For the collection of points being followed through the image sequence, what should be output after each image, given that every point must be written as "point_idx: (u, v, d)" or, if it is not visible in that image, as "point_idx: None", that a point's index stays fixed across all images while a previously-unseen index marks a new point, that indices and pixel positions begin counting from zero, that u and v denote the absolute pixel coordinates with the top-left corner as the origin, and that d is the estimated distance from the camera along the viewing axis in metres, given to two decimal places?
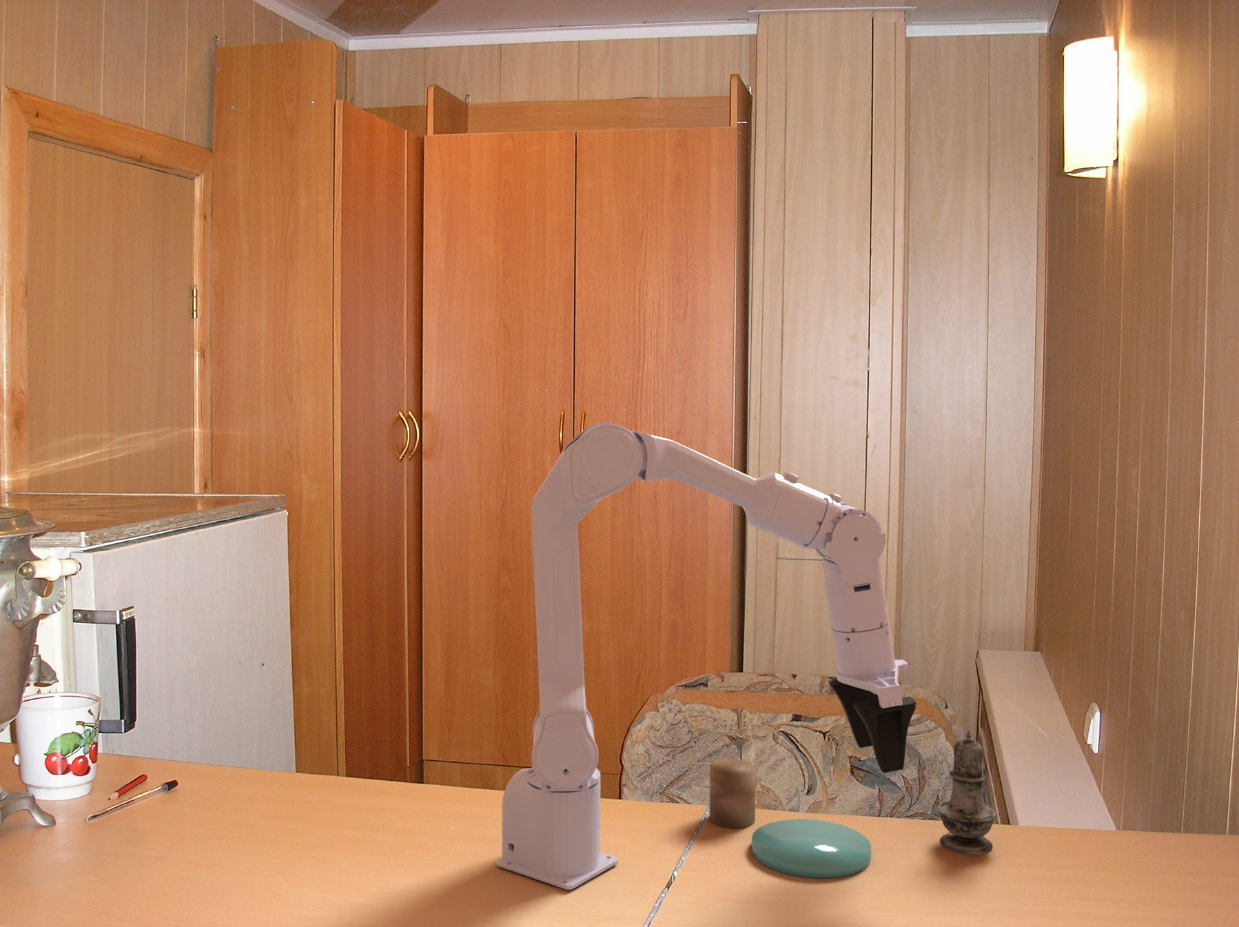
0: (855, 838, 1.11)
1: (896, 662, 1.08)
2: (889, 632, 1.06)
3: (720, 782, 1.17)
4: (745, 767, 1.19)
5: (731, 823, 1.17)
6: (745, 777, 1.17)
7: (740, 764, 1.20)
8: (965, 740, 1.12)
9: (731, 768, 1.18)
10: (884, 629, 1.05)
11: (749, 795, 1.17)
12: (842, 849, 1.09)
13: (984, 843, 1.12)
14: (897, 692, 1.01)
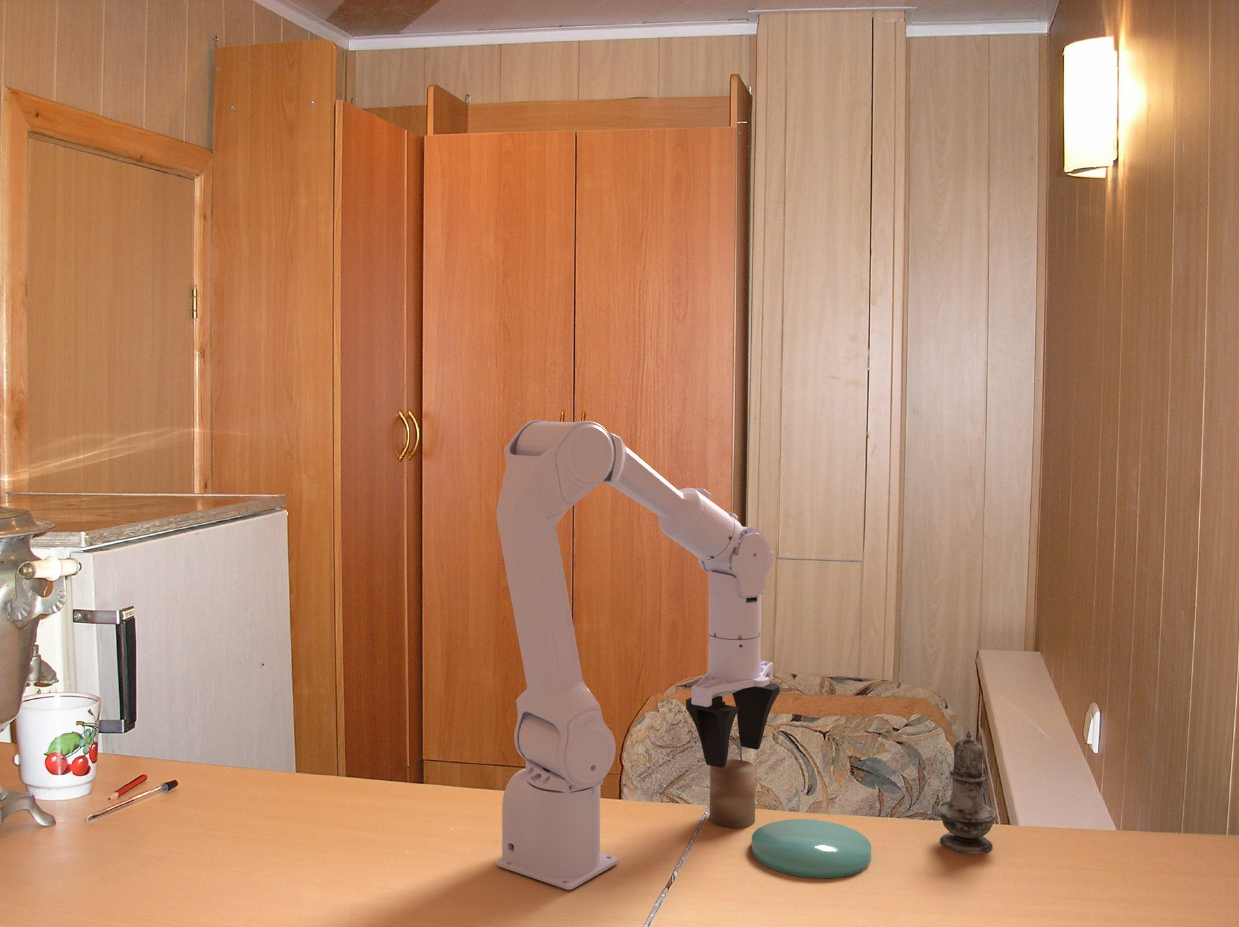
0: (855, 838, 1.11)
1: (759, 678, 1.17)
2: (746, 647, 1.16)
3: (720, 782, 1.17)
4: (745, 767, 1.19)
5: (731, 823, 1.17)
6: (745, 777, 1.17)
7: (740, 764, 1.20)
8: (965, 740, 1.12)
9: (731, 768, 1.18)
10: (737, 642, 1.16)
11: (749, 795, 1.17)
12: (842, 849, 1.09)
13: (984, 843, 1.12)
14: (704, 695, 1.12)
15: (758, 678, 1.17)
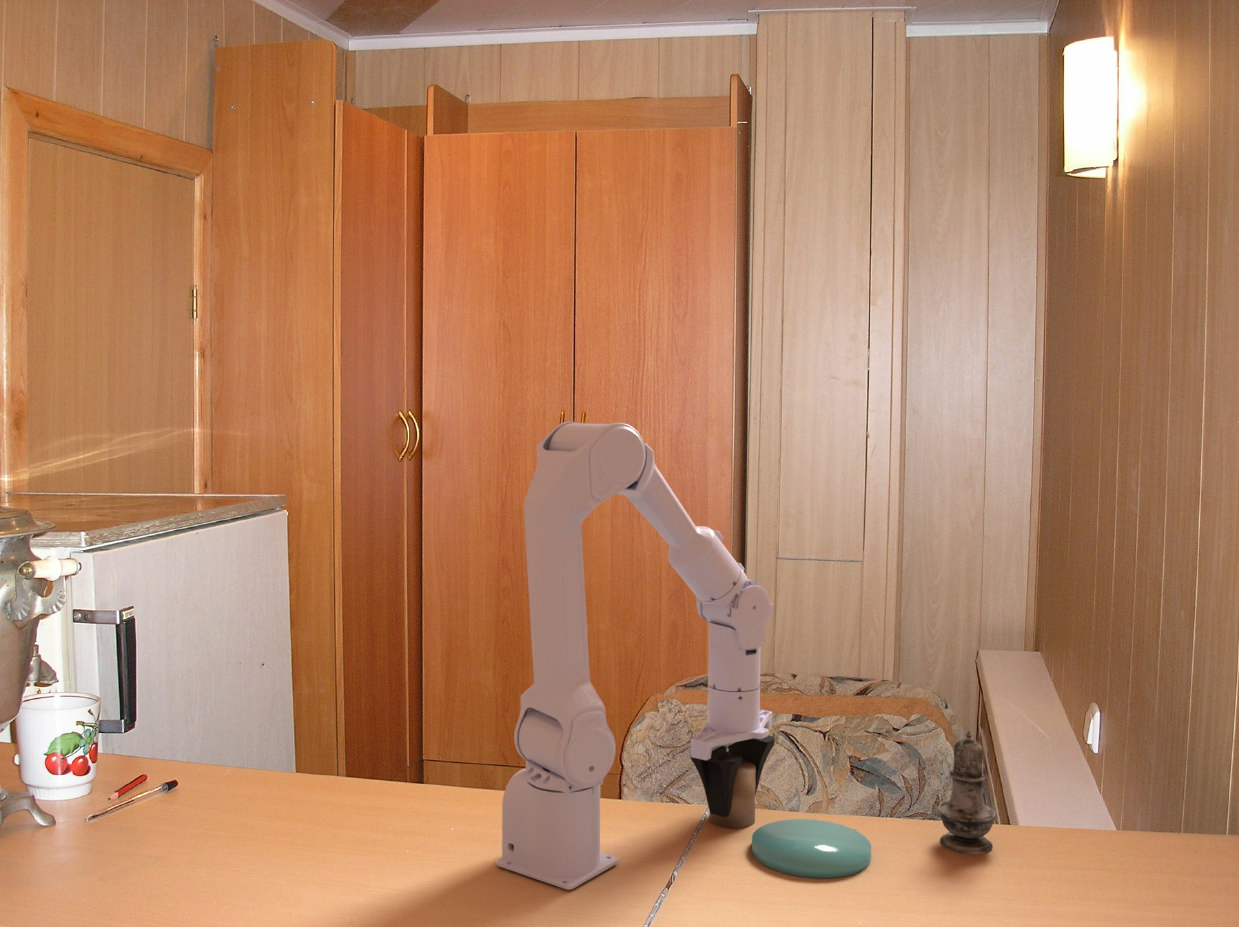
0: (855, 838, 1.11)
1: (758, 729, 1.17)
2: (745, 699, 1.16)
3: None
4: (745, 767, 1.19)
5: (731, 823, 1.17)
6: (745, 777, 1.17)
7: (740, 764, 1.20)
8: (965, 740, 1.12)
9: None
10: (737, 694, 1.16)
11: (749, 795, 1.17)
12: (842, 849, 1.09)
13: (984, 843, 1.12)
14: (703, 748, 1.13)
15: (757, 730, 1.17)
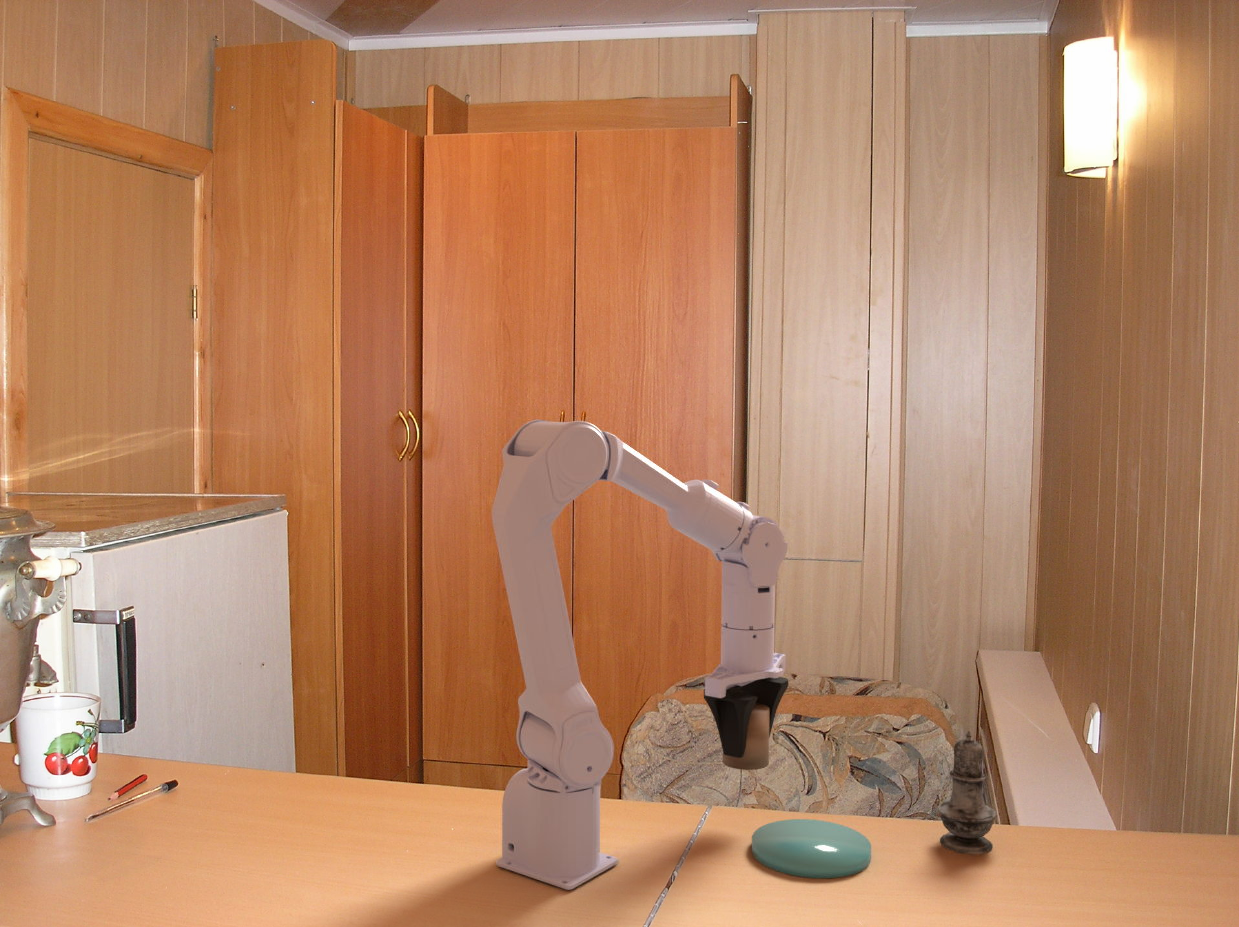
0: (855, 838, 1.11)
1: (773, 669, 1.15)
2: (760, 638, 1.14)
3: None
4: (759, 708, 1.17)
5: (745, 764, 1.15)
6: (759, 718, 1.15)
7: (754, 706, 1.18)
8: (965, 740, 1.12)
9: None
10: (751, 633, 1.14)
11: (763, 736, 1.16)
12: (842, 849, 1.09)
13: (984, 843, 1.12)
14: (718, 686, 1.11)
15: (772, 669, 1.15)
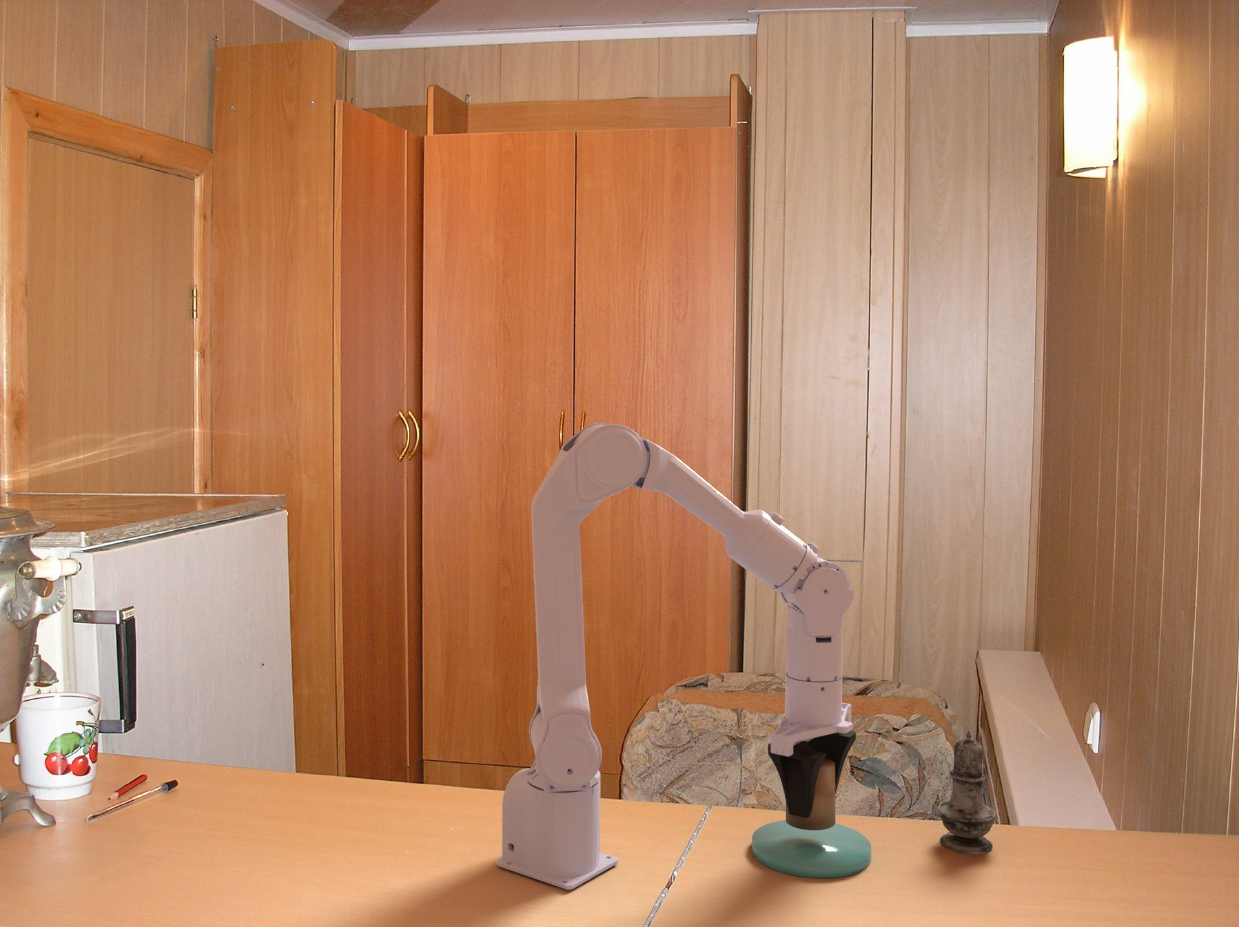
0: (855, 838, 1.11)
1: (841, 723, 1.08)
2: (828, 690, 1.07)
3: None
4: (823, 764, 1.10)
5: (810, 824, 1.08)
6: (824, 775, 1.08)
7: None
8: (965, 740, 1.12)
9: None
10: (819, 685, 1.07)
11: (829, 794, 1.08)
12: (842, 849, 1.09)
13: (984, 843, 1.12)
14: (785, 743, 1.04)
15: (840, 723, 1.08)
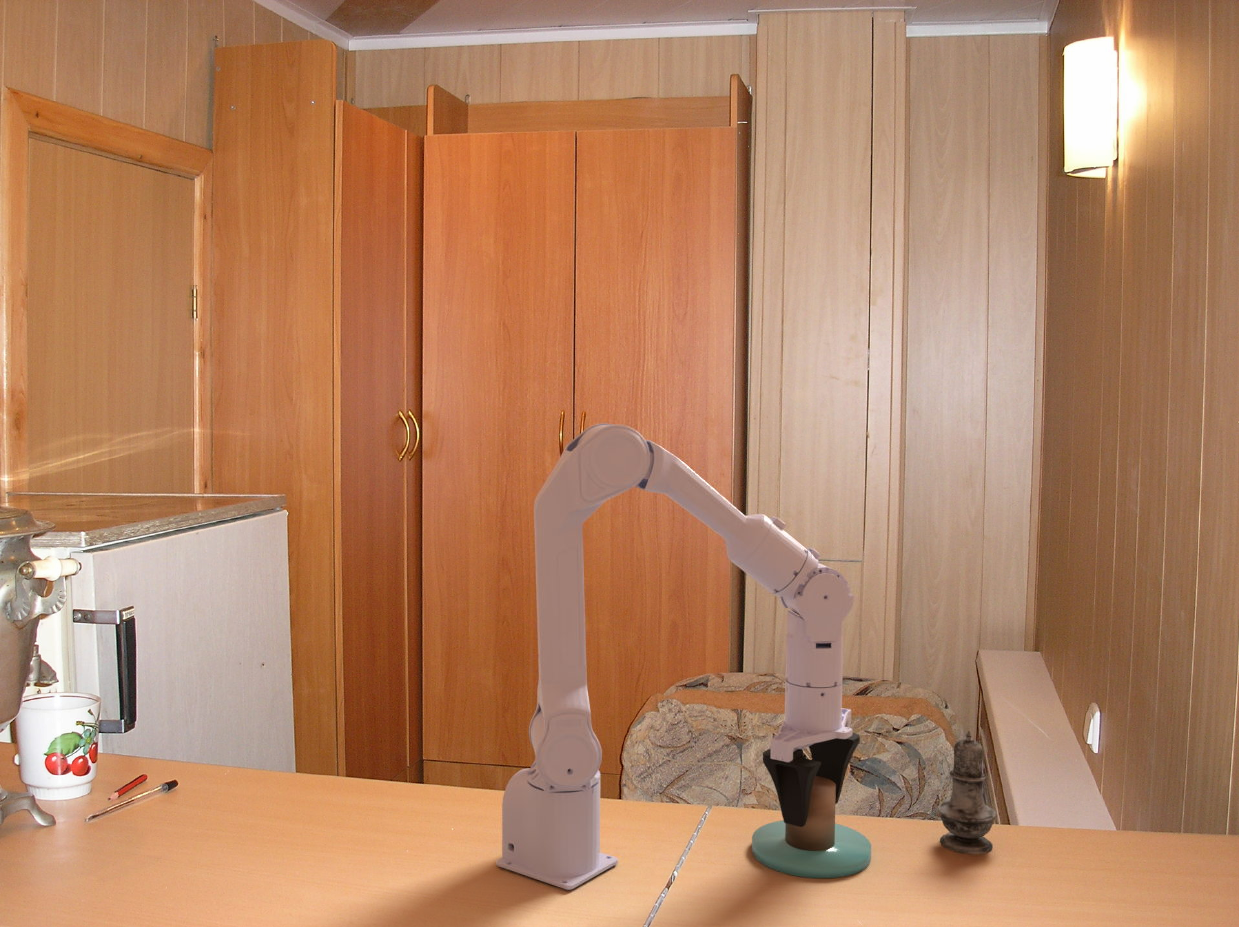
0: (855, 838, 1.11)
1: (841, 728, 1.08)
2: (828, 696, 1.07)
3: None
4: (824, 784, 1.10)
5: (810, 845, 1.08)
6: (824, 796, 1.08)
7: (819, 781, 1.11)
8: (965, 740, 1.12)
9: None
10: (819, 690, 1.07)
11: (829, 815, 1.08)
12: (842, 849, 1.09)
13: (984, 843, 1.12)
14: (785, 749, 1.04)
15: (840, 729, 1.08)
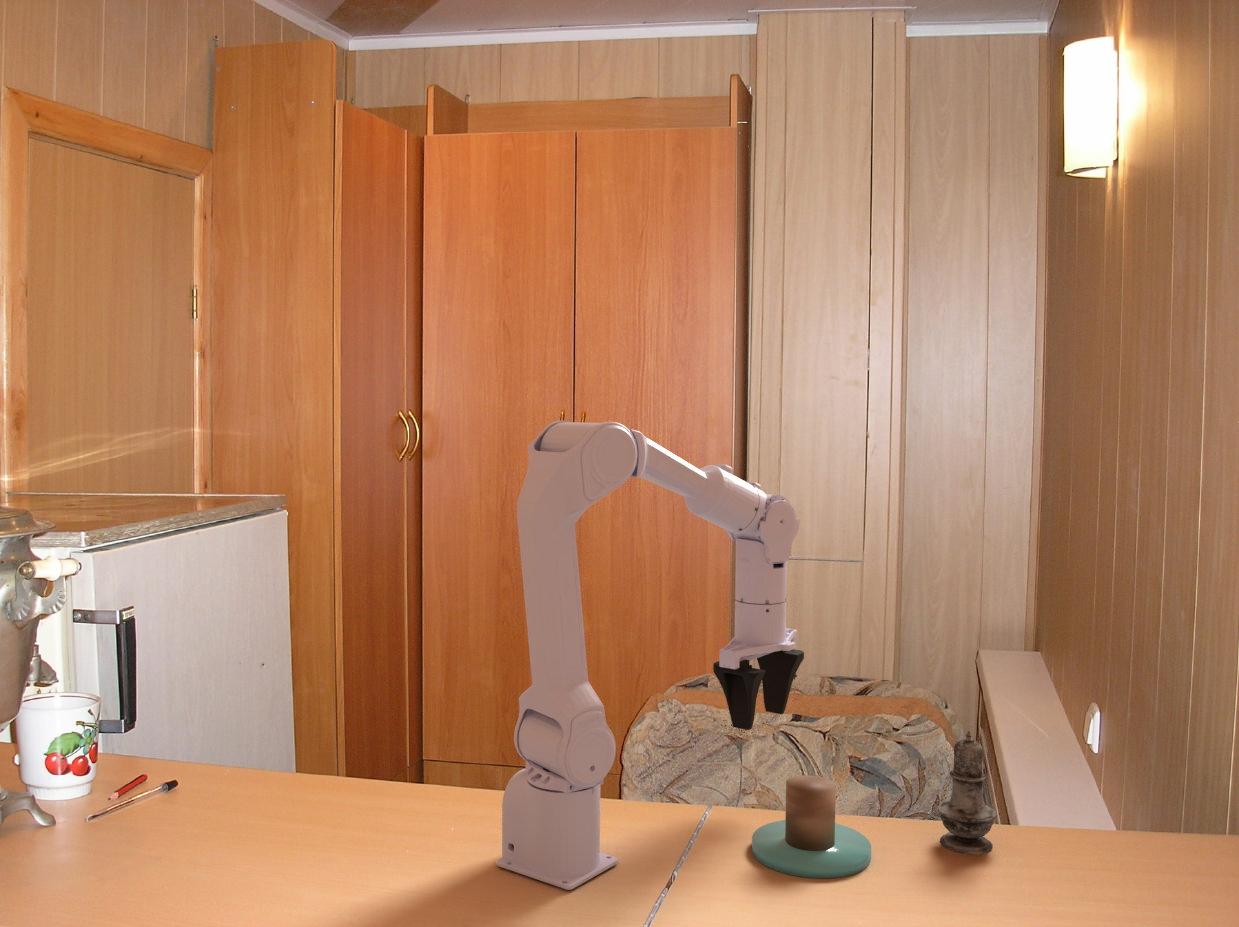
0: (855, 838, 1.11)
1: (785, 642, 1.19)
2: (772, 612, 1.18)
3: (798, 800, 1.08)
4: (824, 784, 1.10)
5: (810, 845, 1.08)
6: (824, 796, 1.08)
7: (819, 781, 1.11)
8: (965, 740, 1.12)
9: (810, 786, 1.09)
10: (764, 607, 1.18)
11: (829, 815, 1.08)
12: (842, 849, 1.09)
13: (984, 843, 1.12)
14: (732, 657, 1.15)
15: (784, 643, 1.19)
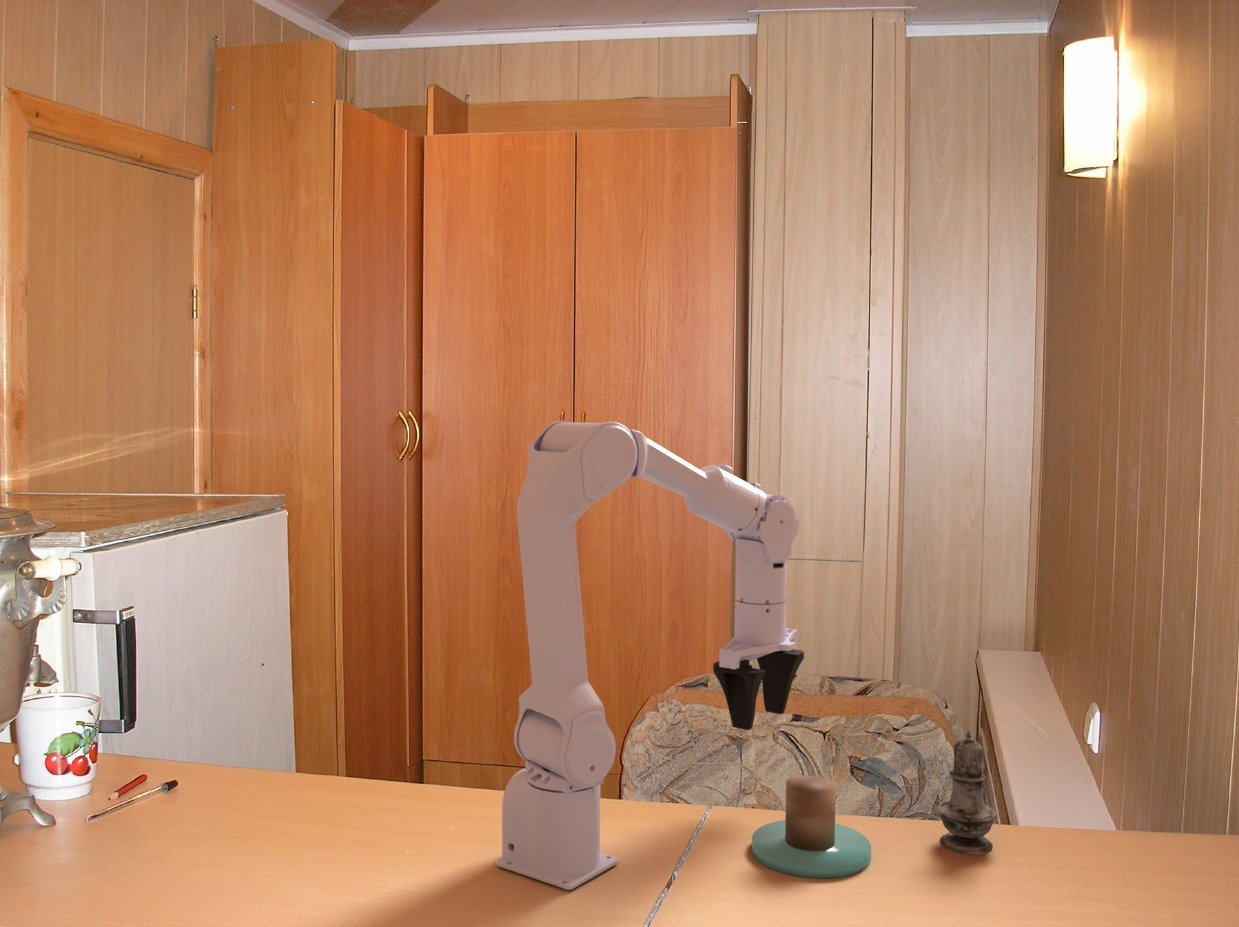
0: (855, 838, 1.11)
1: (785, 642, 1.19)
2: (772, 612, 1.18)
3: (798, 800, 1.08)
4: (824, 784, 1.10)
5: (810, 845, 1.08)
6: (824, 796, 1.08)
7: (819, 781, 1.11)
8: (965, 740, 1.12)
9: (810, 786, 1.09)
10: (764, 607, 1.18)
11: (829, 815, 1.08)
12: (842, 849, 1.09)
13: (984, 843, 1.12)
14: (732, 657, 1.15)
15: (784, 643, 1.19)
